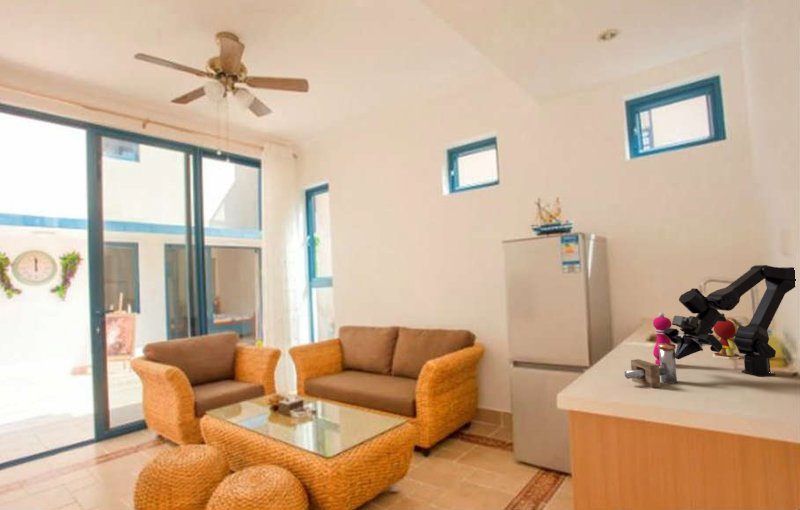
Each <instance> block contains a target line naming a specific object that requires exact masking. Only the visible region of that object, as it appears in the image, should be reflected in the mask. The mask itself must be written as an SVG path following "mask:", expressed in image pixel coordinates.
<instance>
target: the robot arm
mask: <svg viewBox="0 0 800 510" xmlns="http://www.w3.org/2000/svg"><path fill="white" fill-rule="evenodd" d="M794 268H795V267H793V266H792V267H791V266H789V267H786V266H785V267H783V266H781V267H780V266H779V267H776V266H771V265H767V264H759V265H758V264H755V265H753V266H751V267H750V269H749V270H747V271H746V272H745V273H743V274H742V275H741V276H740V277H738V278H737V279H735V280H734V281H732V282H731V283H730V284H729V285H728V286H726V287H723V288H720V289H717V290H715V291H713V292H710V293H709V294H707V296H705V295H704V294H703V293H701V291H700V290H699V289H698V288H694V287H693V288H691V289H690V290H689V291H685V292H684V293H682V294H681V295H680V296H679V299H678V301H679V303H680V304H682V305H683V306H684V307H685V309H687V311H689V312H690V313H691V314H693V315H690V316H688V317H687V316H683V315H682V316H681V315H674V316H673V318H672V319H673V320H672V321H671V326H676V327H678V328H680V329H677V328H672V327H670V328H666V329H665V330H664V331H663V333H664V334H665V335H666V336H667V337H668V338H669V339H670V342H671V343H672V344H674V345H676V344H677V346H676V349H675V360H676V359H677V360H681V359H683V358H686V357H688V356H690V355H692V354H695V353H698V352H700V351H701V352H703V351H704V346H706V345H708V346H710V350H711V351H712V352H713V353H719V352H720V351H721V350H722V348H723V347H722V343H721V342H720V341H719V340H718V339H719V338H717V337H716V336H715V335H713V333H715V332H714V326H715V324H716V323H717V322H718V321H721V322H726V319H727V318H726V316H725V313H721V312H720V311H725V312H727V311H729V312H731V311H732V310H733V309H735V307H736V306H737V305H738V304H739V303H740V300H741V297H742V296H743V295H745V294H746V293H747V292H749V291H751V289H753V288H754V287H755V286H757V285H759V283H761V282H762V281H763V280H764V283H765V286H766V290H765V292H764V294H763V296H762V298H761V299H760V301H759V303H758V306H757V307H756V309H755V312H754V313H753V316H752V318H751V320H750V321H749V323H748V324H747V325H745V326H744V325H739V326H737V328H738V330H737V332H736V334H735V335H734V336H735V337H734V338H733V343H734V345H735V347H736V349H737V350H738V353H739V354H742V355H744V360H743V363H744V369H743V370H741V371H740V372H741V373H745V374H747V375H748V374H749V375H751V376H752V375H753V376H757V377H765V376H766V377H767V376H775V375H776V373H775V372H772V373H771V362H770V359H772V358H775V357H776V353H777V351H776V349H774V348H773V347H772V346H771V345H770V344H769V341H770V338H769V333H768V329H769V327H770V326H771V323H772V321H773V319H774V317H775V315H776V314H777V311H778V309H779V307H780V305H781V303H782V301H783V299H784V297H785V295H786V294H787V293H789V292H790V291H792V290H793V289H795V288H796V286H795V281H796V279H795V270H794ZM694 314H696V316H694ZM769 372H770V373H769Z"/></svg>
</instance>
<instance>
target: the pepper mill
mask: <svg viewBox="0 0 800 510" xmlns="http://www.w3.org/2000/svg"><path fill="white" fill-rule="evenodd" d="M652 325H653V327H654V328H655V329H654V333H655V335H656V343H655V345H654V347H653V351H652V352H653V353H652V354H653V357H654V358H655V363H654V364H657V365H659V367H660V357H659V348H658V344H661V343H668V344H672V342H671V340H670V339H669V338H668V337H667V336H666V335H665V334H664V333H663V331H664V330H665V329H666V328H672V321H671V319H670V318H668V317H666V316H665V314H664V312H659V313H658V316H656V317H655V318H654V319H653V320H652Z"/></svg>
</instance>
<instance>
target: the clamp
mask: <svg viewBox="0 0 800 510" xmlns="http://www.w3.org/2000/svg"><path fill="white" fill-rule="evenodd" d="M658 348H659V357H660V366H659V373H660V382H662V383H665V382H666V383H667V384H677V383H678V378H677V377H678V376H677V364H676V358H675V354H676V349H677V346H676V344H675V343H671V344H668V343H661V344H658ZM624 377H625V378H626V379H632V378H641V377H645V378H646V375H645V369H643V370H632V371H631V370H625V371H624ZM676 382H677V383H676Z"/></svg>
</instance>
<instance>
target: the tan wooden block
mask: <svg viewBox="0 0 800 510" xmlns="http://www.w3.org/2000/svg"><path fill="white" fill-rule="evenodd" d="M659 368H660V366H659V365H657V364H655V363H653V362H650V361H646V360H643V359H639V358H638V359H637V358H636V359H630V369H631V370H630V371H632V370H643V369H645V375H646V377H641V378H631V380H632V382H634V383H636V384H639V383H640V385H642V386H645V387H647V388H650V387H651V389H657V387H658V388H661V376H660V373H659Z"/></svg>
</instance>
